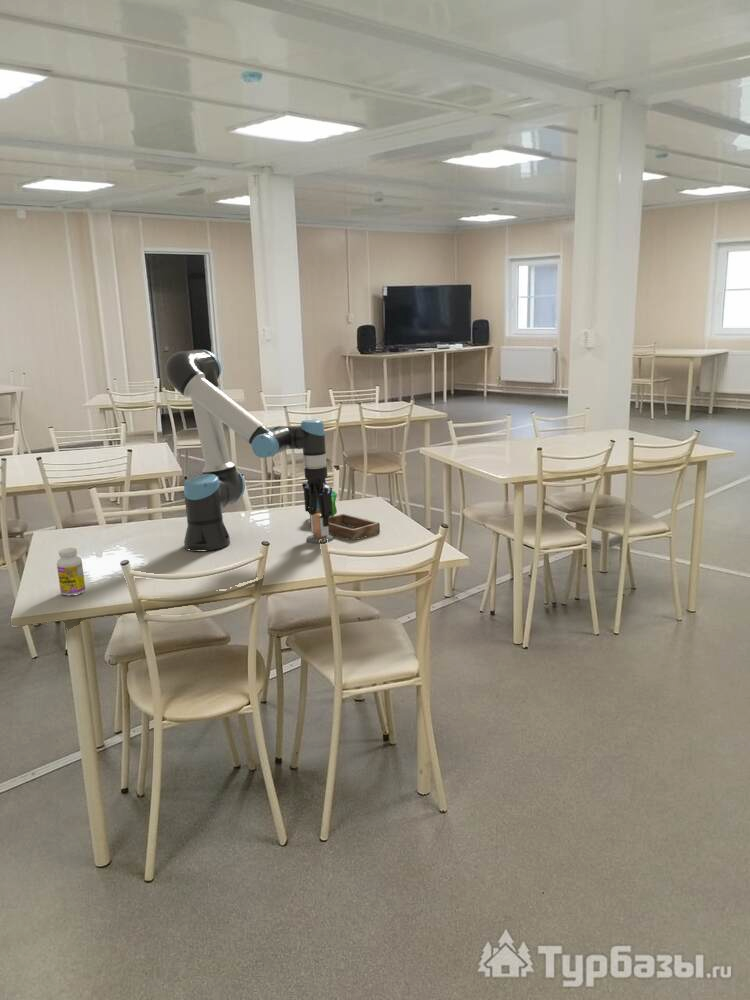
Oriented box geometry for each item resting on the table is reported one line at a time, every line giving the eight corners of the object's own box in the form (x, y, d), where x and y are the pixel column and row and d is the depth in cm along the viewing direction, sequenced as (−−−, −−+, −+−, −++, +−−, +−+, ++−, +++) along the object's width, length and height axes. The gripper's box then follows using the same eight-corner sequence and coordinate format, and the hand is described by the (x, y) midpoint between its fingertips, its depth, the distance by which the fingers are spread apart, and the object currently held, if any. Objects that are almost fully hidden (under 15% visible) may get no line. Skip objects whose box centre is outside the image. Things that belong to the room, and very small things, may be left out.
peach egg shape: (318, 540, 258) (317, 517, 256) (310, 537, 261) (309, 515, 259) (329, 537, 260) (328, 514, 259) (321, 534, 264) (319, 512, 262)
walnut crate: (353, 540, 258) (352, 530, 257) (317, 529, 272) (316, 520, 272) (379, 532, 265) (379, 522, 265) (343, 522, 280) (342, 513, 279)
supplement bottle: (56, 597, 216) (49, 553, 213) (69, 588, 223) (62, 546, 220) (78, 597, 215) (72, 553, 212) (90, 589, 222) (84, 546, 219)
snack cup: (345, 522, 281) (344, 495, 279) (319, 526, 276) (317, 499, 274) (328, 513, 295) (326, 487, 292) (302, 517, 290) (300, 491, 287)
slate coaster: (317, 544, 255) (317, 542, 255) (301, 539, 261) (301, 537, 261) (338, 538, 261) (338, 537, 260) (322, 533, 267) (322, 532, 267)
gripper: (340, 467, 251) (345, 536, 256) (308, 461, 264) (313, 527, 269) (322, 471, 246) (327, 541, 252) (290, 465, 259) (296, 531, 265)
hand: (320, 533), depth 261 cm, fingers closed on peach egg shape, 4 cm apart
